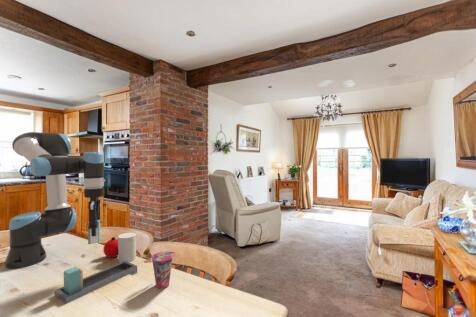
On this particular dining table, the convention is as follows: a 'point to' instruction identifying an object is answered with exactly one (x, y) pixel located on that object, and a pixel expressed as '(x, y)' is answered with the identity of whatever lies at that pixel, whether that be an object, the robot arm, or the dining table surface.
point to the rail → (98, 280)
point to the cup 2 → (162, 268)
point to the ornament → (111, 248)
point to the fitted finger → (73, 280)
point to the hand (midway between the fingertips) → (95, 240)
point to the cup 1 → (126, 247)
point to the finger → (98, 232)
